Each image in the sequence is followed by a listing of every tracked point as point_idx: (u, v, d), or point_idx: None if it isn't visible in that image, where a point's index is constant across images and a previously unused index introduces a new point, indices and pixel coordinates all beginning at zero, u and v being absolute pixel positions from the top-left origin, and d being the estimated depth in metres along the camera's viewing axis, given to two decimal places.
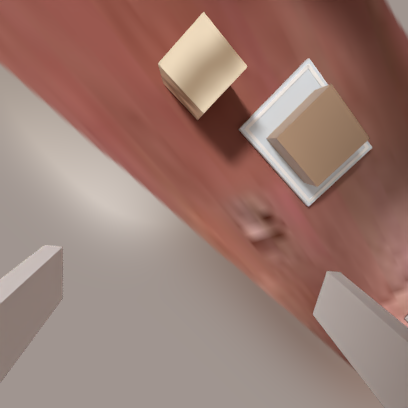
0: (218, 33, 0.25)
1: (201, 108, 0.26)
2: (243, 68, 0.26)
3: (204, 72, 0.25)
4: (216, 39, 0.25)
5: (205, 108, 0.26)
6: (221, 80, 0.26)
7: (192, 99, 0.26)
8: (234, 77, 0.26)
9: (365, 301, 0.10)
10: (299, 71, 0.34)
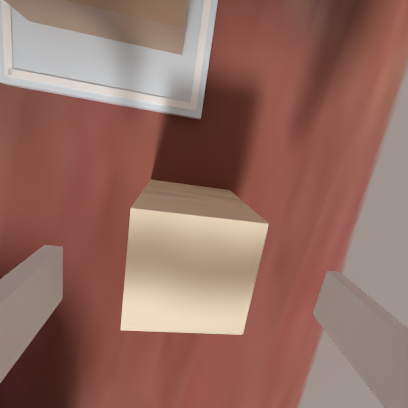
0: (127, 291, 0.12)
1: (263, 233, 0.12)
2: (140, 212, 0.11)
3: (203, 268, 0.12)
4: (138, 287, 0.12)
5: (258, 226, 0.12)
6: (192, 235, 0.12)
7: (258, 256, 0.12)
8: (168, 216, 0.11)
9: (365, 301, 0.10)
10: (33, 82, 0.16)
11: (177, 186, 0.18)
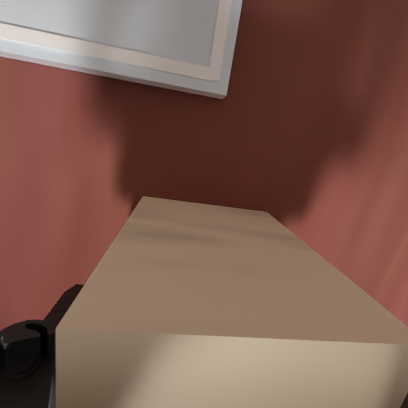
0: None
1: None
2: (85, 339, 0.04)
3: None
4: None
5: (404, 353, 0.05)
6: (233, 383, 0.04)
7: None
8: (169, 344, 0.04)
9: None
10: None
11: (186, 210, 0.11)
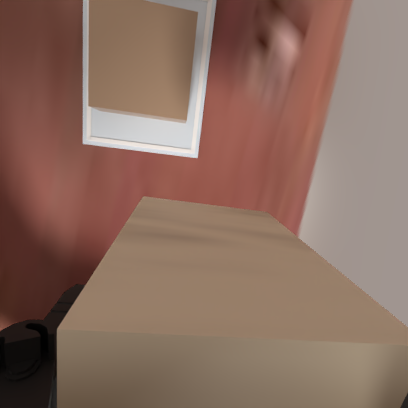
0: None
1: None
2: (86, 340, 0.04)
3: None
4: None
5: (404, 354, 0.05)
6: (233, 383, 0.04)
7: None
8: (170, 345, 0.04)
9: None
10: (101, 143, 0.28)
11: (186, 210, 0.11)
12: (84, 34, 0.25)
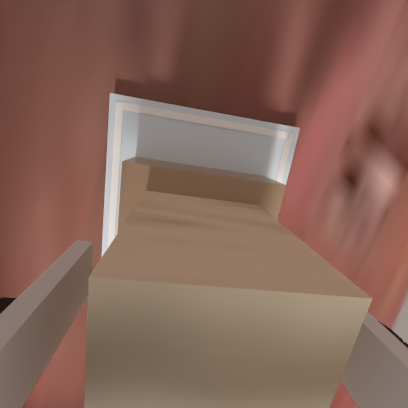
0: None
1: (359, 315, 0.06)
2: (109, 286, 0.05)
3: (238, 382, 0.06)
4: None
5: (352, 304, 0.06)
6: (219, 324, 0.06)
7: (344, 356, 0.06)
8: (171, 291, 0.05)
9: None
10: None
11: (184, 202, 0.12)
12: (107, 185, 0.17)
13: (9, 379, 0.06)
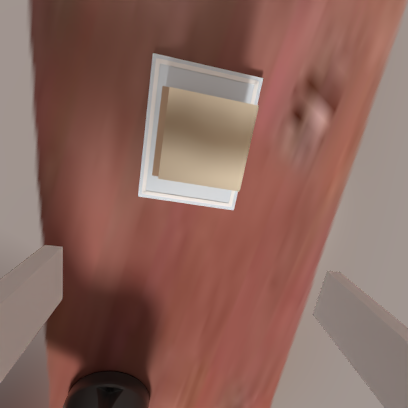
0: (164, 148, 0.18)
1: (254, 112, 0.18)
2: (175, 90, 0.17)
3: (214, 136, 0.18)
4: (171, 146, 0.18)
5: (251, 107, 0.18)
6: (207, 110, 0.18)
7: (251, 130, 0.18)
8: (193, 95, 0.17)
9: (365, 301, 0.10)
10: (153, 196, 0.32)
11: None
12: (148, 109, 0.29)
13: None
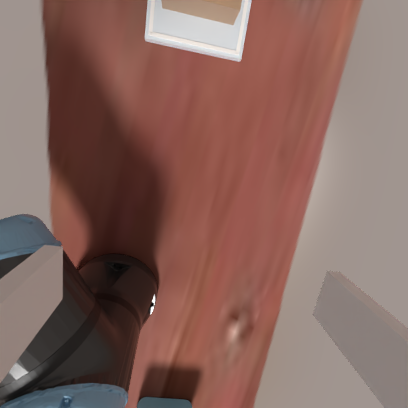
0: None
1: None
2: None
3: None
4: None
5: None
6: None
7: None
8: None
9: (365, 301, 0.10)
10: (160, 38, 0.32)
11: None
12: None
13: None
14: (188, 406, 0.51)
